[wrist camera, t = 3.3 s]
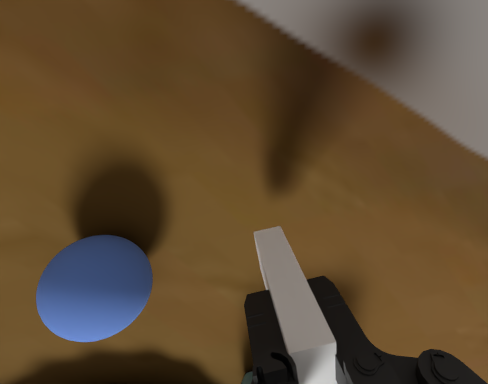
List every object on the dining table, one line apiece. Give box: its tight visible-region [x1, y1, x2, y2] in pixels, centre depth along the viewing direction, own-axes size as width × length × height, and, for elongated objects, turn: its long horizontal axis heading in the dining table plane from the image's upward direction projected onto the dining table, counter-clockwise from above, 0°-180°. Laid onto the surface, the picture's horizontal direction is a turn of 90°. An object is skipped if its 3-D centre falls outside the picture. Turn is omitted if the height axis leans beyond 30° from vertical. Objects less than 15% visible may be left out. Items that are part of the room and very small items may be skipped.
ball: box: [36, 235, 152, 342], centre depth 14 cm, size 6×6×6 cm
